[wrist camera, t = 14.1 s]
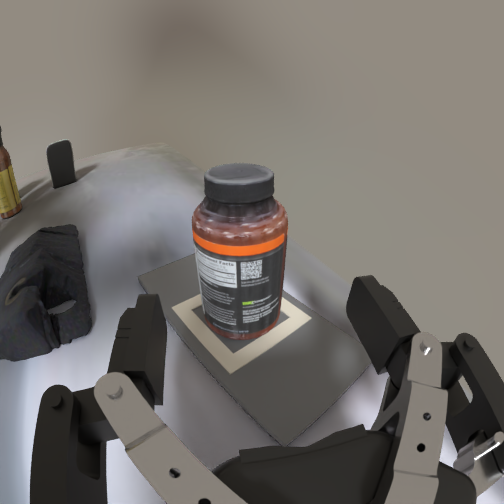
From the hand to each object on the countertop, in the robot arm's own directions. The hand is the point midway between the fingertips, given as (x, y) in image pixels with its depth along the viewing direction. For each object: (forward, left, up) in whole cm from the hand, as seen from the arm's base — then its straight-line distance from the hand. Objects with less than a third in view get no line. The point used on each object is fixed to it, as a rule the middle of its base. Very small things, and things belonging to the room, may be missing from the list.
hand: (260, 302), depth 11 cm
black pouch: (-23, -12, -9) cm, 28 cm away
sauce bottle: (-58, -20, -9) cm, 62 cm away
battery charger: (-67, -5, -9) cm, 68 cm away
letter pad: (-6, +4, -9) cm, 11 cm away
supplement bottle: (-6, +4, -8) cm, 11 cm away
